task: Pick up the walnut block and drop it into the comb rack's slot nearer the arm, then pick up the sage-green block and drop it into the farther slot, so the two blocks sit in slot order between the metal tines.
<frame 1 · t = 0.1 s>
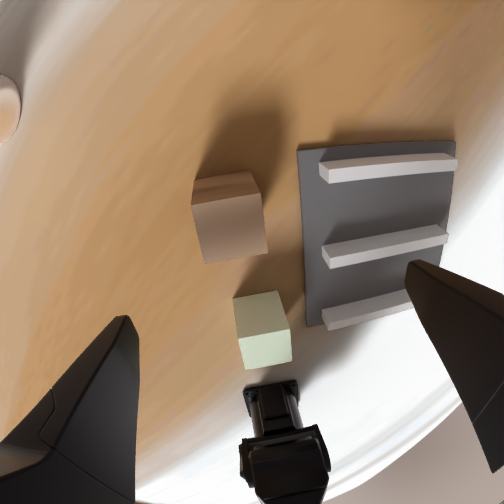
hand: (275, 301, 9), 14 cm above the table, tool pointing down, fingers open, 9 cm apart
comb rack: (382, 236, 26), on the table
sage block: (257, 310, 28), on the table
walnut block: (226, 200, 23), on the table
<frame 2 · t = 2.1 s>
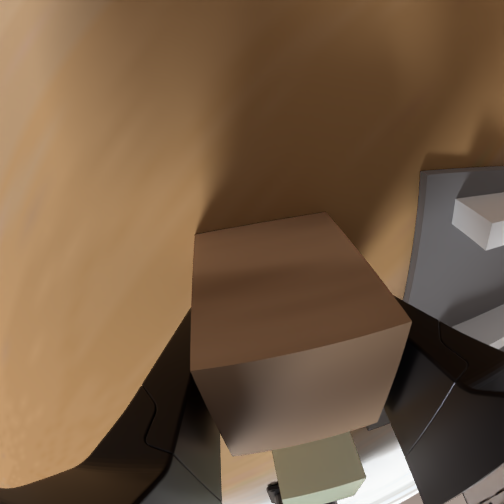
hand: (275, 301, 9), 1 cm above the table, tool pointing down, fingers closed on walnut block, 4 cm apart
comb rack: (494, 307, 14), on the table
sage block: (302, 424, 16), on the table
walnut block: (268, 277, 10), on the table, touching gripper
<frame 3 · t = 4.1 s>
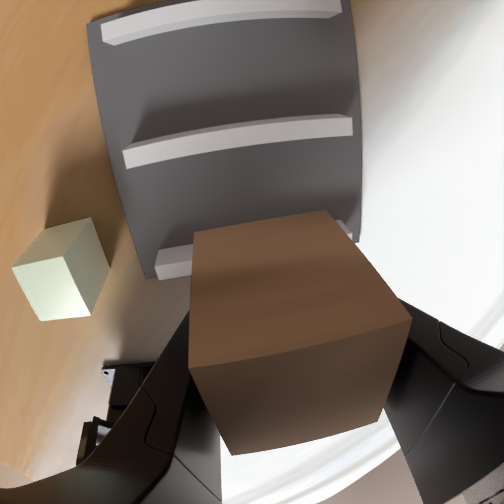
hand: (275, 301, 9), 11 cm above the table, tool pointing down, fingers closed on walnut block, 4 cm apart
comb rack: (236, 130, 17), on the table
sage block: (76, 248, 19), on the table
walnut block: (268, 275, 10), point 10 cm above the table, touching gripper
when the fingers open (3 cm above the table, at t = 5.8 s): walnut block drops 2 cm, resting on comb rack.
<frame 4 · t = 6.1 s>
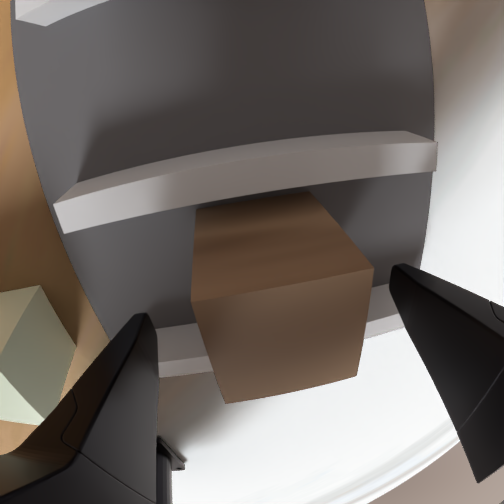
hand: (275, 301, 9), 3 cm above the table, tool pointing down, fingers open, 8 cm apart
comb rack: (246, 156, 10), on the table
sage block: (30, 321, 13), on the table
walnut block: (259, 249, 12), resting on comb rack
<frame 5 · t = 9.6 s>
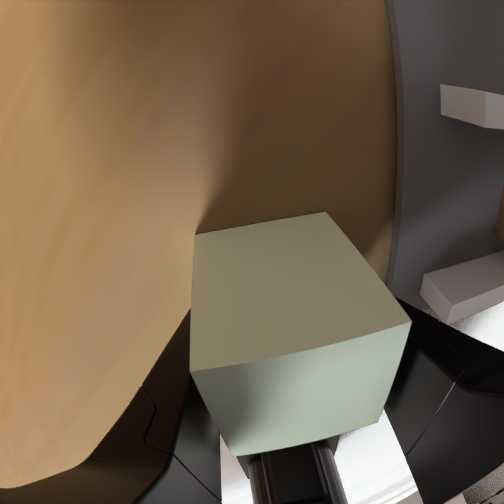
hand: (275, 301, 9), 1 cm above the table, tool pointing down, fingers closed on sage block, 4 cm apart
sage block: (268, 277, 10), on the table, touching gripper
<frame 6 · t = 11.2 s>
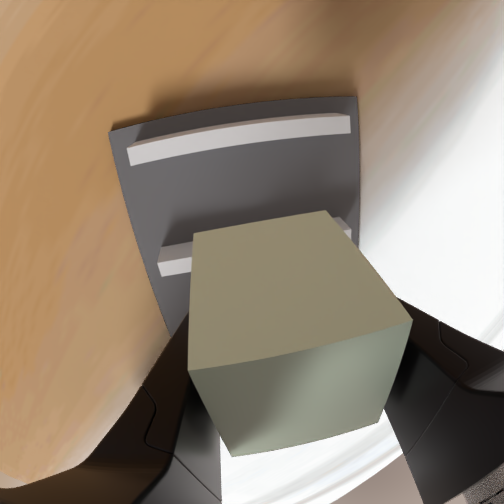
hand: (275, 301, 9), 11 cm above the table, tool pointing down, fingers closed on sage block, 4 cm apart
comb rack: (252, 235, 21), on the table
sage block: (268, 276, 10), point 10 cm above the table, touching gripper
when the fingers open (3 cm above the table, at t = 12.9 s): sage block drops 2 cm, resting on comb rack.
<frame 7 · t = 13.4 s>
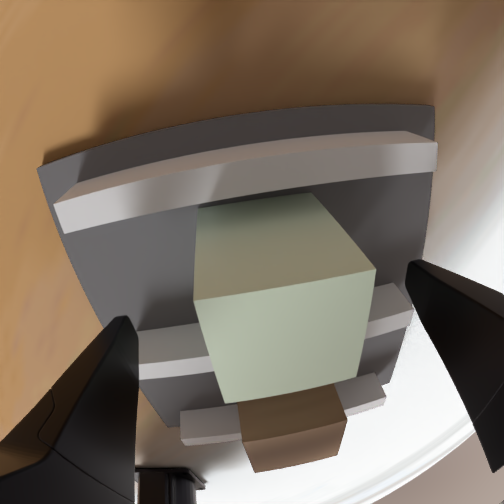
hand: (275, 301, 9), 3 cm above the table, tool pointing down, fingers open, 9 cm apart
comb rack: (268, 312, 14), on the table
sage block: (260, 249, 12), resting on comb rack
walnut block: (275, 366, 15), resting on comb rack
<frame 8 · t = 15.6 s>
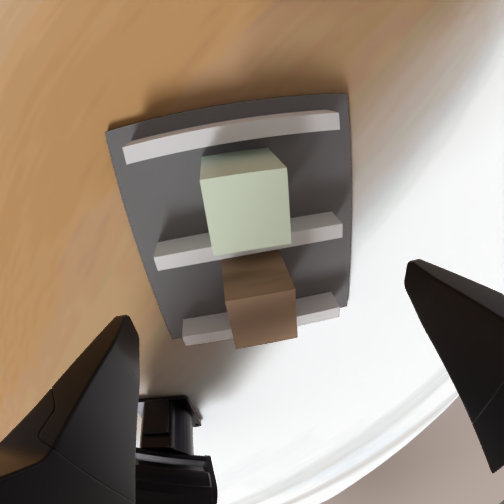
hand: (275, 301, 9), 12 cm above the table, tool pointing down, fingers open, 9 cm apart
comb rack: (245, 229, 21), on the table
sage block: (238, 182, 19), resting on comb rack
walnut block: (252, 274, 23), resting on comb rack
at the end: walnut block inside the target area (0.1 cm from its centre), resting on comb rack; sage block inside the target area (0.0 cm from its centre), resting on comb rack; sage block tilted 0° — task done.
